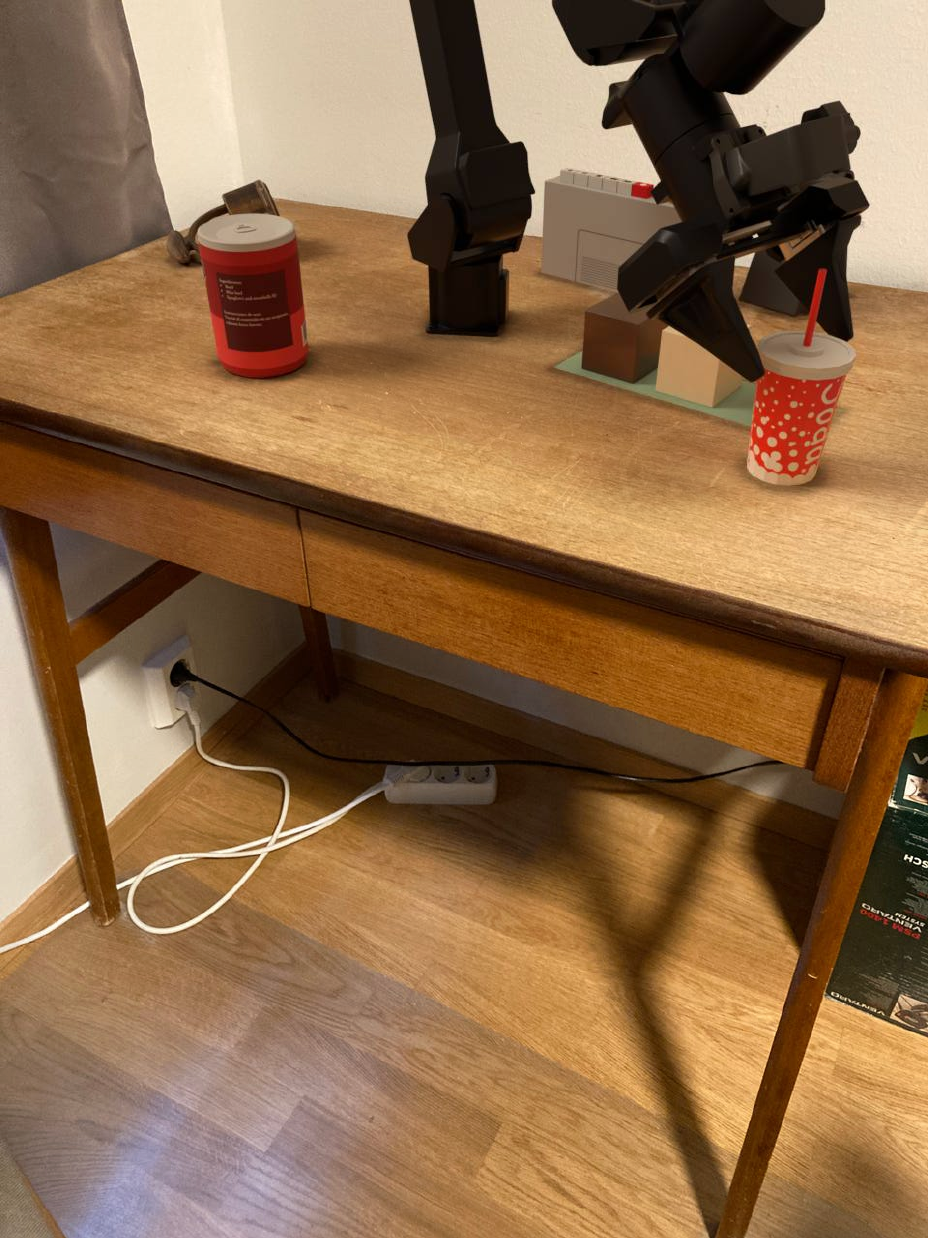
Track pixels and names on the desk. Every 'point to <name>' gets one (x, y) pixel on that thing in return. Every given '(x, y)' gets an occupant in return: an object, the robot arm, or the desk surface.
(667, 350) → the cream block
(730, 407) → the line mat
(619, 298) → the walnut block
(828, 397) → the beverage cup
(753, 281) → the phone stand
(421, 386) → the desk surface
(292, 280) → the canned food
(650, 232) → the cassette player
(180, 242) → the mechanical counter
